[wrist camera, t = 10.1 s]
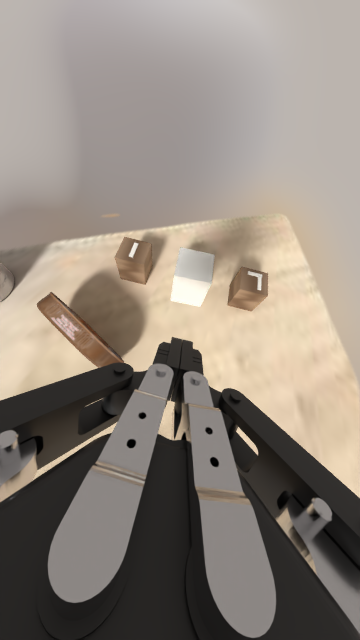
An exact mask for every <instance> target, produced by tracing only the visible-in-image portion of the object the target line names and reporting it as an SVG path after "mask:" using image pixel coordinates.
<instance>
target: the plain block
mask: <svg viewBox="0 0 360 640" xmlns="http://www.w3.org/2000/svg"><path fill="white" fill-rule="evenodd" d="M214 256H215V255H214V254H209V253H205V252H200V251H195V250H191V249H186V248H181V247H180V251H179V255H178V260H177V265H176V269H175V274H174V280H173V287H172V294H171V300H170V301H175V302H180V303H185V304H190V305H195V306H199V307H200V306H201V304H202V302H203V300H204V298H205V296H206V294H207V292H208V290H209V288H210V286H211V284H212V275H213V265H214Z"/></svg>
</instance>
